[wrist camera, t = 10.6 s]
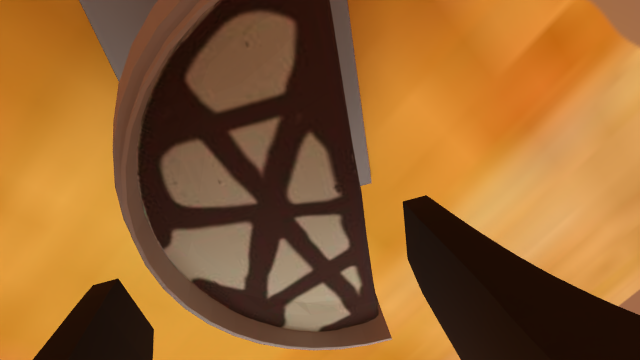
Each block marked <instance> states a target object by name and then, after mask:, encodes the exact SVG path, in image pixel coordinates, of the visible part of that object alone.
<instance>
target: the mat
mask: <svg viewBox="0 0 640 360" xmlns="http://www.w3.org/2000/svg"><path fill="white" fill-rule="evenodd" d="M79 1H80V3H81V5H82V7H83V9H84V11H85V13H86V15H87V17H88V19H89V21H90V24H91V26H92V28H93V30H94V32H95V34H96V36H97V38H98V40H99V42H100V44H101V46H102V48H103V50H104V52H105V54H106V56H107V58H108V60H109V62H110V64H111V66H112V68H113V71H114V73H115V75H116V77H117V79H118V81H120V78H121V75H122V72H123V69H124V66H125V63H126V60H127V57H128V54H129V51H130V48H131V45H132V43H133V41H134V40H135V38H136V36H137V34H138V33H139V31H140V29H141V27H142V26H143V24H144V22H145V20H146V18H147V17H148V15H149V13H150V11H151V10H152V8H153V6H154V5H155V3H156V2H157V1H158V0H79ZM330 5H331V11H332V17H333V24H334V30H335V37H336V43H337V49H338V56H339V62H340V68H341V75H342V81H343V88H344V94H345V100H346V106H347V112H348V119H349V125H350V131H351V137H352V143H353V149H354V154H355V160H356V165H357V171H358V176H359V182H360V186H362V185H366V184H370V183H371V176H370V168H369V161H368V153H367V145H366V138H365V130H364V123H363V115H362V108H361V100H360V93H359V85H358V78H357V70H356V63H355V55H354V47H353V40H352V32H351V25H350V17H349V10H348V2H347V0H330Z"/></svg>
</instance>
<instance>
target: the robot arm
mask: <svg viewBox="0 0 640 360" xmlns="http://www.w3.org/2000/svg"><path fill="white" fill-rule="evenodd" d="M403 210H404V221H405V233H406V245H407V257H408V261H409V263H410V265H411V268H412V270H413V272H414V275H415V277H416V279H417V282H418V284H419V286H420V288H421V291H422V293H423V295H424V297H425V298H426V300H427V302H428V304H429V305H430V307H431V309H432V311H433V312H434V314H435V316H436V318H437V319H438V321H439V323H440V324H441V326H442V328H443V330H444V331H445V333H446V335H447V336H448V338H449V340H450V342H451V343H452V345H453V347H454V348H455V350H456V352H457V354H458V355H459V357H460V359H461V360H640V315H638V314H635V313H633V312H630V311H628V310H626V309H623V308H621V307H618V306H616V305H614V304H611V303H609V302H607V301H605V300H602V299H600V298H598V297H596V296H594V295H591V294H589V293H587V292H585V291H583V290H581V289H579V288H577V287H575V286H573V285H571V284H569V283H567V282H565V281H563V280H561V279H559V278H557V277H555V276H553V275H551V274H549V273H547V272H545V271H543V270H542V269H540V268H538V267H536V266H534V265H533V264H531V263H529V262H527V261H526V260H524V259H522V258H520V257H519V256H517V255H515V254H514V253H512V252H510V251H509V250H507V249H505V248H504V247H502V246H501V245H499V244H497V243H496V242H494V241H493V240H491V239H490V238H488V237H486V236H485V235H483V234H482V233H480V232H479V231H477V230H476V229H474V228H473V227H471V226H470V225H468V224H467V223H465V222H464V221H462V220H461V219H459V218H458V217H457V216H455V215H454V214H452V213H451V212H449V211H448V210H447V209H445V208H444V207H442V206H441V205H439V204H438V203H437V202H435V201H434V200H432V199H431V198H429V197H428V196H422V197H418V198H415V199H411V200H407V201H403ZM153 336H154V329H153V328H152V326H151V325H150V323H149V322H148V320H147V319H146V318H145V316H144V315H143V313H142V312H141V310H140V309H139V308H138V306H137V305H136V303H135V302H134V300H133V299H132V298H131V296H130V295H129V293H128V292H127V290H126V289H125V288H124V286H123V285H122V283H121V282H120V281H119V279H115V280H111V281H107V282H104V283H100V284H96V285H93V286H92V287H91V288H90V290H89V291H88V292H87V293H86V294H85V295H84V296H83V298H82V299H81V300H80V301H79V303H78V304H77V305H76V306H75V307H74V309H73V310H72V311H71V312H70V314H69V315H68V316H67V317H66V319H65V320H64V321H63V323H62V324H61V325H60V326H59V328H58V329H57V330H56V331H55V333H54V334H53V335H52V336H51V338H50V339H49V340H48V341H47V343H46V344H45V345H44V346H43V348H42V349H41V350H40V351H39V353H38V354H37V355H36V356H35V357H34V359H33V360H153Z"/></svg>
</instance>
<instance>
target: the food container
mask: <svg viewBox="0 0 640 360" xmlns="http://www.w3.org/2000/svg"><path fill="white" fill-rule="evenodd" d="M113 161H114V178H115V188H116V192H117V196H118V200H119V204H120V207H121V211H122V215H123V219H124V221H125V223H126V225H127V227H128V229H129V231H130V234H131V237H132V239H133V241H134V243H135V245H136V247H137V249H138V251H139V253H140V255H141V257H142V259H143V261H144V263H145V265H146V267H147V268H148V269H149V270H150V272H151V273H152V274H153V276H154V277H155V278H156V280H157V281H158V282H159V284H160V285H161V286H162V288H163V289H164V290H165V291H166V292H167V293H169V294H170V295H171V296H172V297H173V298H174V299H175V300H176V301H177V302H178V303H179V304H180V305H182V306H183V307H184V308H185V309H186V310H188V311H189V312H191V313H192V314H194V315H195V316H197V317H199V318H200V319H202V320H203V321H205V322H206V323H208V324H210V325H212V326H214V327H216V328H218V329H220V330H222V331H225V332H227V333H229V334H231V335H233V336H236V337H240V338H243V339H246V340H249V341H253V342H256V343H259V344H264V345H270V346H275V347H281V348H287V349H302V350H332V349H345V348H352V347H359V346H365V345H371V344H375V343H379V342H383V341H388V340H392V338H391V335H390V332H389V330H388V327H387V324H386V322H385V319H384V316H383V313H382V311H381V308H380V305H379V303H378V299H377V296H376V294H375V289H374V284H373V277H372V270H371V263H370V256H369V249H368V242H367V235H366V227H365V218H364V210H363V201H362V193H361V187H360V182H359V176H358V171H357V165H356V160H355V154H354V149H353V143H352V137H351V131H350V125H349V119H348V112H347V106H346V100H345V94H344V88H343V81H342V75H341V68H340V62H339V56H338V49H337V43H336V37H335V30H334V24H333V17H332V11H331V5H330V0H158V1H157V2H156V3H155V5H154V6H153V8H152V10H151V11H150V13H149V15H148V17H147V18H146V20H145V22H144V24H143V26H142V27H141V29H140V31H139V33H138V34H137V36H136V38H135V40H134V41H133V43H132V45H131V48H130V51H129V54H128V57H127V60H126V63H125V66H124V69H123V72H122V75H121V78H120V81H119V85H118V92H117V100H116V107H115V115H114V124H113Z"/></svg>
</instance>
